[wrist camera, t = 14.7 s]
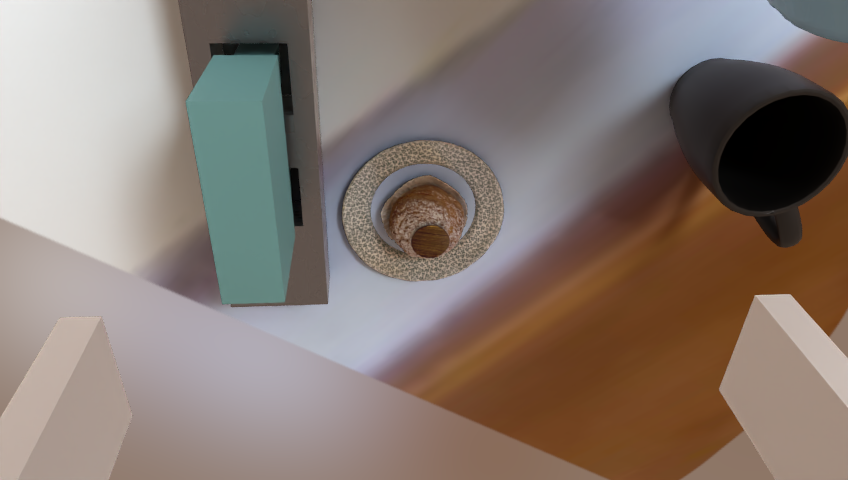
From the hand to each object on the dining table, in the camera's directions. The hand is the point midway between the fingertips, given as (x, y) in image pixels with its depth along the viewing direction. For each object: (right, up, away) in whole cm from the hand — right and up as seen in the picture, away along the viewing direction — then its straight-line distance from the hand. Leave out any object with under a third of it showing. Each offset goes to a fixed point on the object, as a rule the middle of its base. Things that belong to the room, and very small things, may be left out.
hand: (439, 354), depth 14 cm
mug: (+20, +11, +33) cm, 40 cm away
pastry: (0, +5, +36) cm, 36 cm away
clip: (-11, +10, +30) cm, 34 cm away
